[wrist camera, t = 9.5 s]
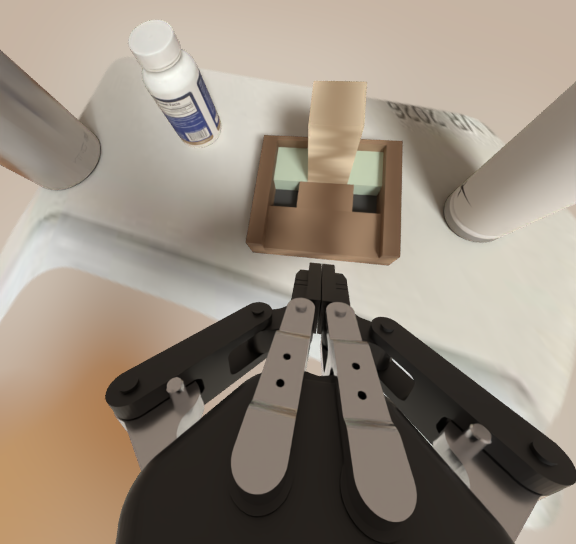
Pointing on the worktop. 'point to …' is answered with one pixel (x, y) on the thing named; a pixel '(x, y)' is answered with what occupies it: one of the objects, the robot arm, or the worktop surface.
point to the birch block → (335, 129)
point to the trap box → (328, 204)
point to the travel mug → (521, 178)
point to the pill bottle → (175, 83)
